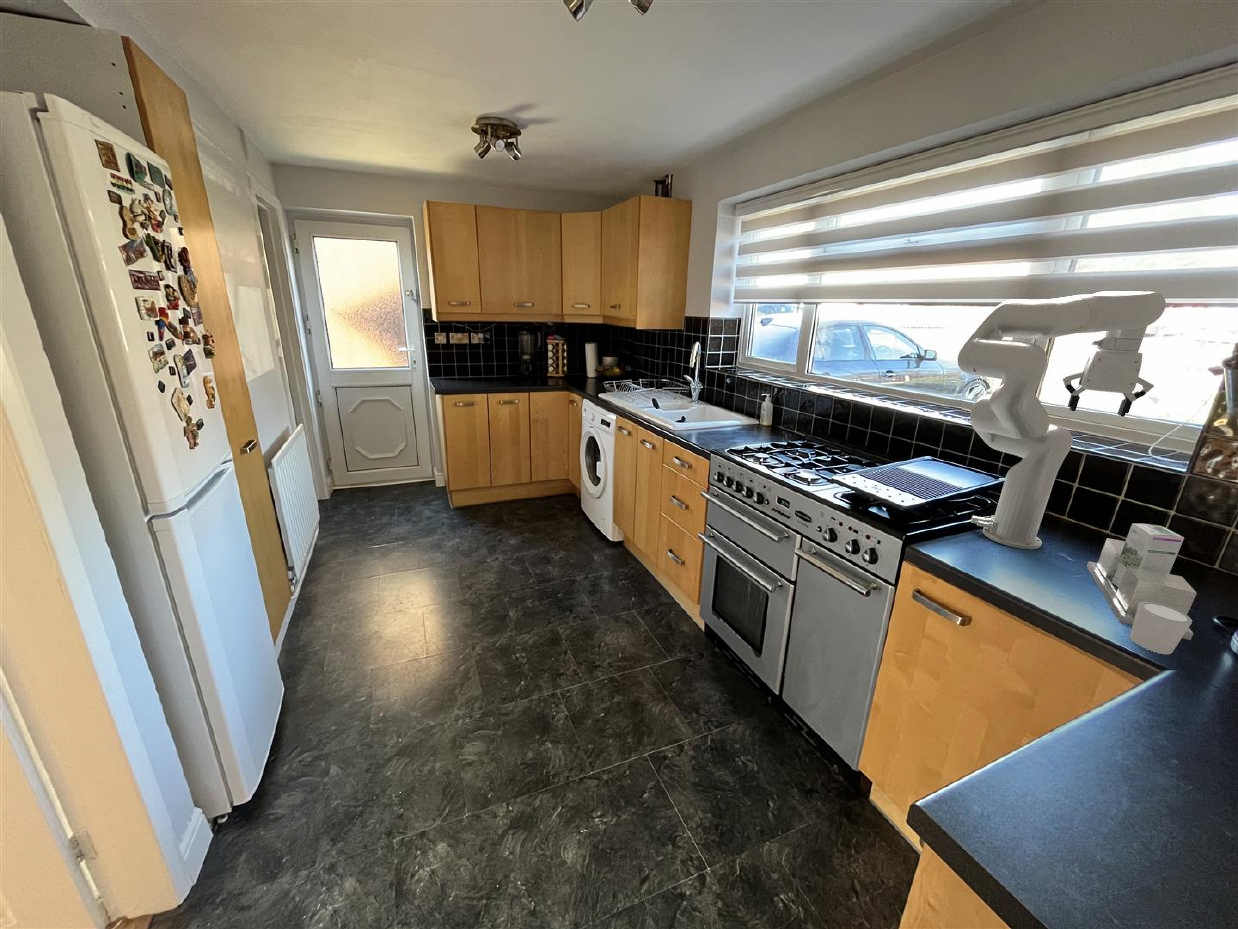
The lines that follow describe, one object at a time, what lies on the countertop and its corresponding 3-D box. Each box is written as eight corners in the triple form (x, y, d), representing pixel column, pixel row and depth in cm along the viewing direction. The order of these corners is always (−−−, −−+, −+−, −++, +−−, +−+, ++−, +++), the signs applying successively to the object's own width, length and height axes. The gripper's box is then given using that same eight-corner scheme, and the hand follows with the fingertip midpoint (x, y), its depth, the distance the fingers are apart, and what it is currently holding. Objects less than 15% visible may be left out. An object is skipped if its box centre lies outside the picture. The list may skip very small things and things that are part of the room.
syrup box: (1160, 600, 104) (1187, 537, 99) (1126, 596, 105) (1152, 533, 100) (1139, 586, 109) (1164, 525, 104) (1107, 582, 110) (1131, 521, 105)
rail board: (1119, 622, 99) (1135, 583, 96) (1086, 566, 120) (1099, 533, 117) (1190, 640, 94) (1209, 599, 91) (1143, 579, 115) (1157, 545, 113)
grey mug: (1161, 637, 95) (1176, 605, 92) (1187, 660, 88) (1203, 627, 86) (1116, 629, 97) (1129, 597, 94) (1138, 651, 90) (1153, 618, 88)
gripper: (1077, 343, 126) (1056, 410, 131) (1172, 349, 118) (1146, 420, 123) (1070, 342, 132) (1051, 406, 137) (1161, 347, 124) (1136, 415, 129)
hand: (1096, 412), depth 130 cm, fingers open, 9 cm apart
